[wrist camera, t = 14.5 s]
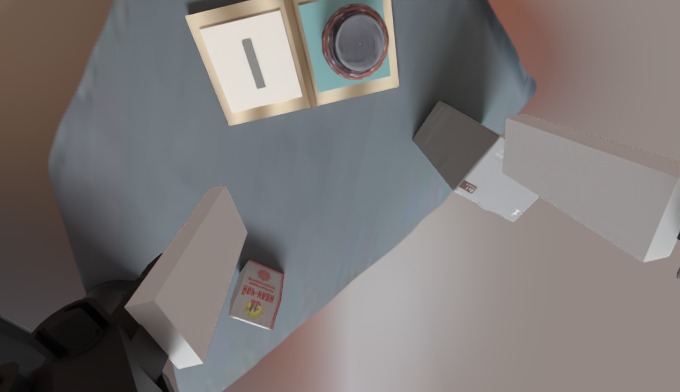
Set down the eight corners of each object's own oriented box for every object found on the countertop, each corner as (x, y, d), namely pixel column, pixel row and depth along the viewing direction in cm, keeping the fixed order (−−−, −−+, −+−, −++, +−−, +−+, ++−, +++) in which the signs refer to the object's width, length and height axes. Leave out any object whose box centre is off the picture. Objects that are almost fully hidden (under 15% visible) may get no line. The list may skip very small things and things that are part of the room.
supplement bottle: (359, 1, 30) (382, -21, 20) (380, 57, 32) (409, 62, 23) (310, 30, 31) (309, 23, 21) (335, 82, 33) (344, 97, 23)
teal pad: (318, 92, 34) (318, 93, 34) (298, 6, 30) (298, 5, 29) (389, 75, 34) (390, 76, 34) (380, -14, 30) (381, -15, 29)
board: (231, 123, 36) (228, 127, 35) (189, 17, 31) (182, 15, 29) (396, 85, 36) (400, 87, 34) (385, -31, 30) (389, -35, 28)
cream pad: (232, 112, 34) (231, 113, 34) (200, 30, 30) (198, 29, 30) (302, 96, 34) (302, 96, 34) (280, 10, 30) (279, 10, 29)
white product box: (274, 287, 51) (266, 337, 42) (239, 273, 49) (223, 323, 40) (284, 274, 49) (277, 323, 41) (249, 259, 47) (234, 307, 38)
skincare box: (482, 125, 39) (574, 169, 25) (450, 167, 42) (518, 227, 28) (435, 96, 37) (509, 127, 23) (405, 143, 40) (455, 195, 26)
